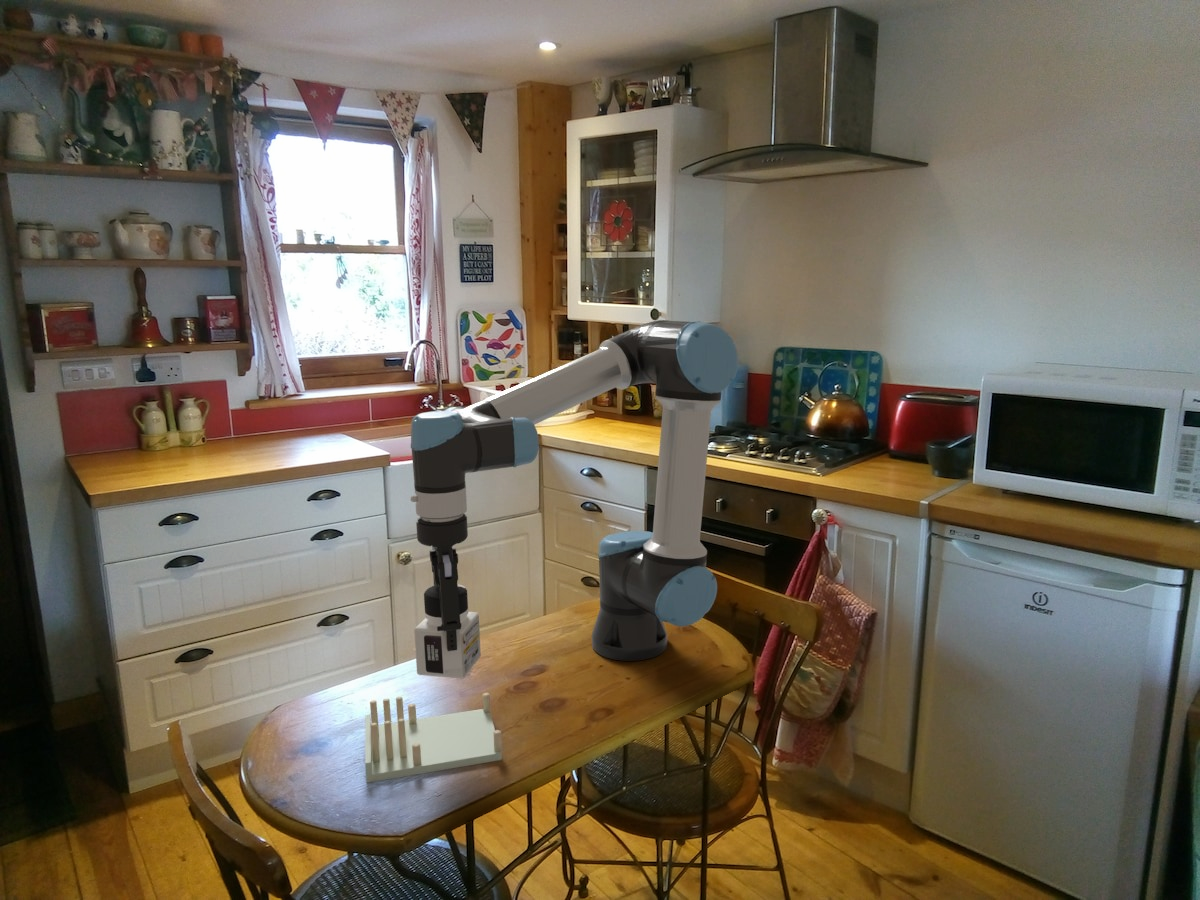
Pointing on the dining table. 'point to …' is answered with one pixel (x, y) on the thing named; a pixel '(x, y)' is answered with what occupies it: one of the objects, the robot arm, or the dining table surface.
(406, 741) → the dish rack
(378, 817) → the dining table surface
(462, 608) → the container
